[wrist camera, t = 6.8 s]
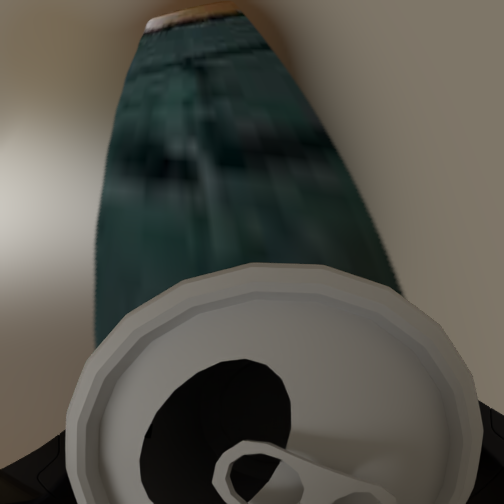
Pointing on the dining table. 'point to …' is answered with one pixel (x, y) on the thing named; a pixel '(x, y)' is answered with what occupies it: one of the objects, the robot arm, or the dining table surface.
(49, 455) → the robot arm
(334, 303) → the can
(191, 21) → the dining table surface
